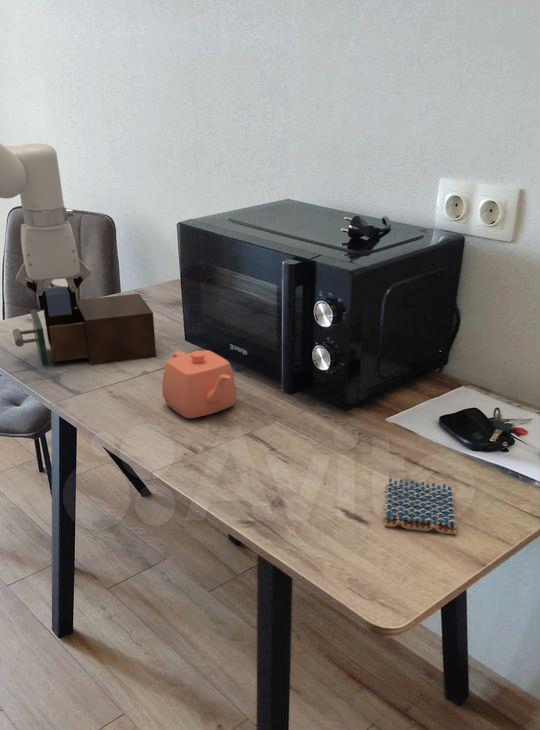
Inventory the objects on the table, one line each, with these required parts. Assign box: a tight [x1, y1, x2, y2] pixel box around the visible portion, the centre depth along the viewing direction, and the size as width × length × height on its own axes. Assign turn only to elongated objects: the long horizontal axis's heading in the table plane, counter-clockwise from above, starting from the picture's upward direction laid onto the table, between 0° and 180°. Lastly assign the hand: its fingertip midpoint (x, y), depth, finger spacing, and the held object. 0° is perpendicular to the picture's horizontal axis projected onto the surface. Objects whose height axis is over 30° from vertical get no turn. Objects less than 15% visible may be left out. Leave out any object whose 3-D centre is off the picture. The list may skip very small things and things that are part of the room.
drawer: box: [12, 307, 89, 367], centre depth 144 cm, size 17×11×8 cm
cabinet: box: [76, 293, 157, 366], centre depth 148 cm, size 14×13×10 cm
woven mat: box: [382, 478, 459, 536], centre depth 102 cm, size 10×11×2 cm
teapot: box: [161, 349, 237, 419], centre depth 126 cm, size 12×18×10 cm, turn 37°
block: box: [43, 286, 72, 317], centre depth 141 cm, size 4×4×4 cm
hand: (59, 310), depth 142 cm, fingers closed on block, 4 cm apart
